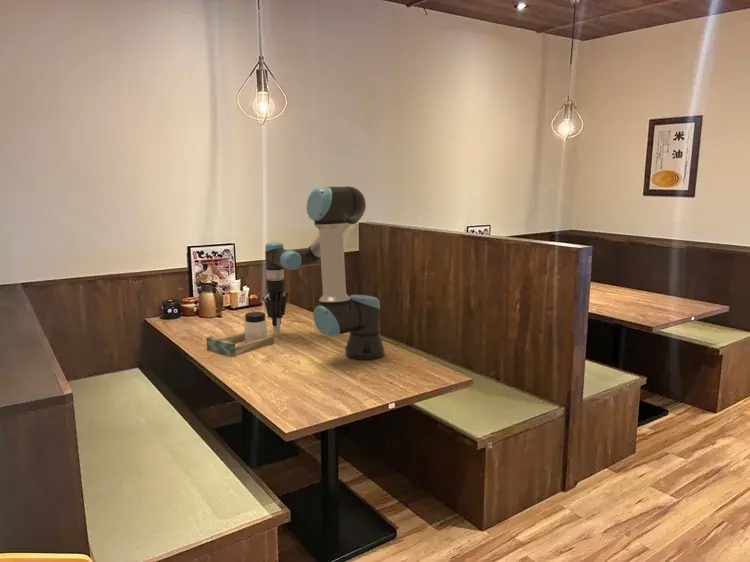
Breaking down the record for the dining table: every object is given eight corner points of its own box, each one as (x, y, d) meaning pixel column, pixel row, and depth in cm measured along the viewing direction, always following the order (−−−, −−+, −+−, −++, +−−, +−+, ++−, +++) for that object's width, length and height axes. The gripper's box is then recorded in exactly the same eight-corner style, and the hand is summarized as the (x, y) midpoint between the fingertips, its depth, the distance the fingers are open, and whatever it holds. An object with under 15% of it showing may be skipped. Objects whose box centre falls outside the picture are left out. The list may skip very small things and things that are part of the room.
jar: (244, 345, 236) (243, 316, 234) (246, 339, 244) (244, 312, 242) (266, 344, 237) (265, 316, 235) (267, 338, 245) (266, 311, 243)
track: (273, 343, 239) (273, 331, 238) (231, 356, 222) (230, 344, 221) (249, 337, 248) (249, 325, 247) (207, 349, 230) (206, 337, 230)
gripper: (280, 275, 253) (281, 327, 257) (257, 280, 242) (259, 334, 247) (292, 277, 248) (293, 330, 253) (269, 282, 238) (271, 337, 242)
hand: (276, 332), depth 250 cm, fingers closed
